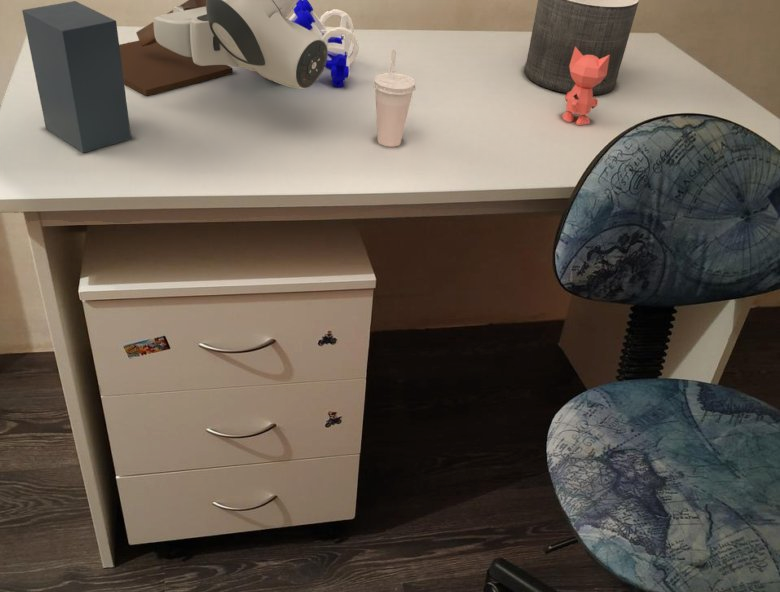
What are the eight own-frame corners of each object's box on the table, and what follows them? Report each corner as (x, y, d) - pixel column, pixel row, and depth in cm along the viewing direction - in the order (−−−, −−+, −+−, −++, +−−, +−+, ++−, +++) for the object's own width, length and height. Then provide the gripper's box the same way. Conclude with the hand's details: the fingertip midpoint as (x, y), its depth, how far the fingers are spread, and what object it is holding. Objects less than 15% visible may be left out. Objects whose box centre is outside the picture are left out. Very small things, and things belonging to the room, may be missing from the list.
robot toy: (362, 23, 133) (209, 9, 129) (356, 95, 141) (211, 84, 137) (354, -5, 145) (213, -18, 141) (348, 63, 153) (214, 52, 149)
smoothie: (365, 133, 128) (371, 43, 119) (403, 132, 130) (412, 43, 121) (374, 150, 124) (381, 58, 115) (414, 150, 125) (424, 58, 116)
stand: (83, 153, 115) (62, 31, 104) (45, 129, 119) (21, 9, 108) (131, 138, 120) (116, 20, 109) (93, 116, 124) (75, 0, 113)
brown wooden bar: (199, 13, 125) (193, -4, 125) (141, 46, 140) (135, 32, 139) (211, 10, 127) (206, -6, 126) (153, 44, 141) (147, 29, 141)
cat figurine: (599, 119, 142) (618, 49, 134) (589, 132, 137) (608, 61, 129) (561, 109, 144) (577, 40, 136) (549, 121, 139) (566, 50, 131)
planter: (622, 100, 149) (648, 11, 139) (528, 90, 149) (546, 0, 138) (607, 67, 163) (629, -17, 152) (520, 57, 162) (536, -28, 152)
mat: (146, 96, 132) (145, 90, 131) (78, 59, 141) (77, 53, 140) (232, 73, 142) (232, 67, 142) (164, 40, 152) (163, 35, 151)
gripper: (293, 1, 127) (236, -21, 133) (186, 23, 114) (130, -2, 121) (292, 42, 131) (237, 19, 137) (190, 68, 119) (135, 41, 125)
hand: (186, 9), depth 129 cm, fingers closed on brown wooden bar, 2 cm apart
